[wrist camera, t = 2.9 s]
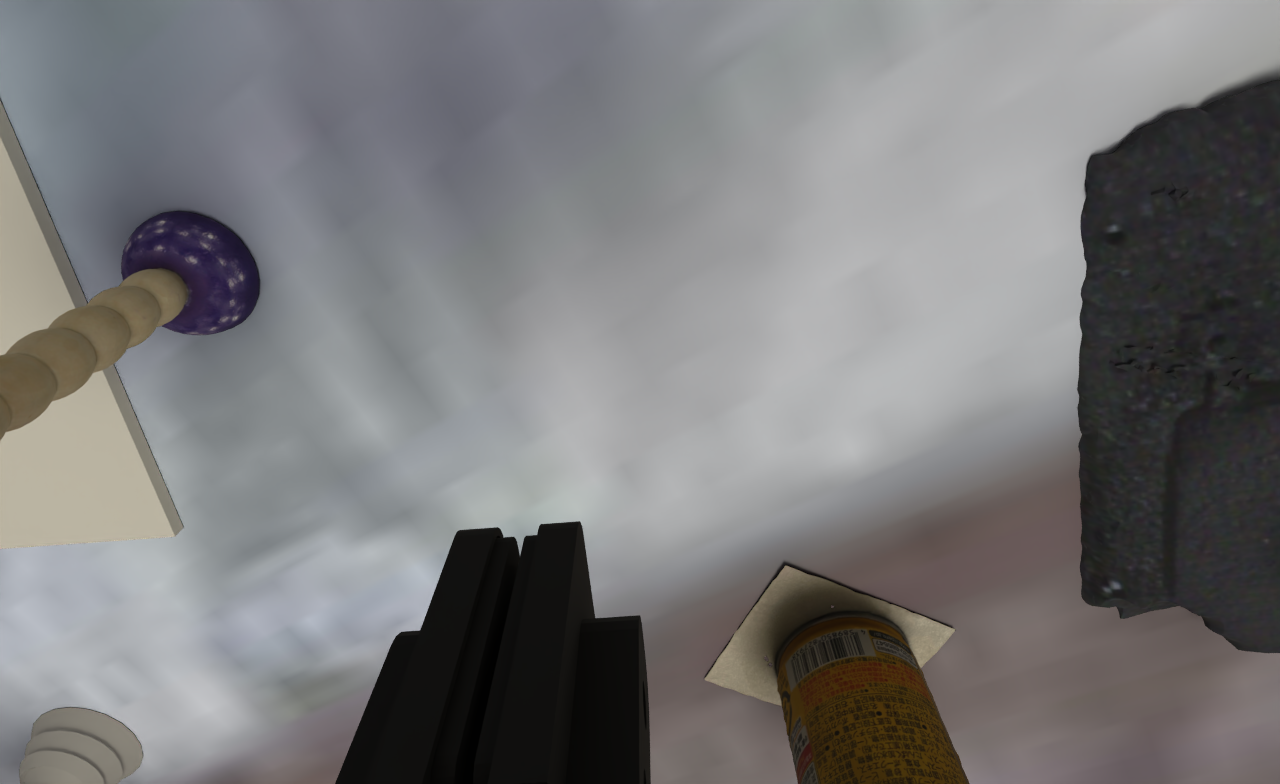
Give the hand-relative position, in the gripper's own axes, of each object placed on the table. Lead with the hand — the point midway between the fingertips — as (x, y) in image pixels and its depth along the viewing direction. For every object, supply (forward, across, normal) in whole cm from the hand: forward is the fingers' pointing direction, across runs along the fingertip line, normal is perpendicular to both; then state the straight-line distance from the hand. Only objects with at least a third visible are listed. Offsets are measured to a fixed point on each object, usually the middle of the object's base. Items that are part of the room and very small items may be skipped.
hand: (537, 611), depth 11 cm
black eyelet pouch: (+18, -25, +6) cm, 31 cm away
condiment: (+17, -8, +18) cm, 26 cm away
